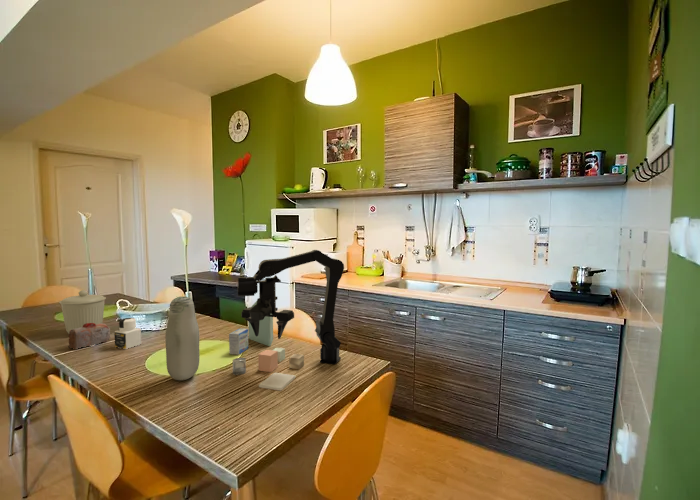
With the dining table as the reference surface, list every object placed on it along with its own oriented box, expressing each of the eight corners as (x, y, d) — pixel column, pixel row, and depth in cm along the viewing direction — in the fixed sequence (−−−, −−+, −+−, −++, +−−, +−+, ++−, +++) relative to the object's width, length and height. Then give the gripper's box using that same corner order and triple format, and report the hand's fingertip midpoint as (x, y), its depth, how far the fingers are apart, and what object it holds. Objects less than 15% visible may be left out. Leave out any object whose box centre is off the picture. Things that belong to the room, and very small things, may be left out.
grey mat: (295, 377, 116) (295, 375, 116) (281, 390, 106) (281, 388, 106) (274, 374, 118) (274, 372, 118) (258, 387, 109) (258, 384, 109)
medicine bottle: (114, 347, 146) (113, 319, 145) (130, 342, 152) (129, 316, 152) (125, 349, 143) (124, 321, 142) (141, 344, 149) (140, 317, 149)
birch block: (303, 365, 127) (303, 354, 127) (299, 369, 123) (299, 358, 123) (294, 364, 128) (294, 353, 128) (289, 368, 124) (289, 357, 124)
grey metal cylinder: (248, 370, 122) (248, 358, 121) (241, 375, 117) (240, 363, 117) (237, 369, 123) (237, 357, 123) (230, 374, 119) (230, 361, 118)
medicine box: (239, 355, 137) (238, 334, 136) (228, 354, 138) (228, 333, 137) (248, 348, 145) (248, 328, 144) (239, 347, 146) (238, 328, 145)
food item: (102, 339, 157) (101, 318, 156) (112, 341, 153) (111, 320, 153) (66, 348, 144) (65, 325, 144) (77, 351, 141) (76, 328, 140)
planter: (284, 342, 153) (283, 299, 152) (269, 346, 147) (268, 301, 146) (262, 334, 164) (262, 294, 163) (248, 338, 158) (247, 296, 157)
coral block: (277, 367, 125) (277, 351, 125) (270, 372, 120) (270, 355, 120) (265, 365, 127) (265, 349, 126) (258, 370, 122) (258, 354, 122)
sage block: (285, 358, 134) (285, 348, 133) (280, 362, 130) (280, 351, 130) (276, 357, 135) (276, 347, 135) (270, 361, 131) (270, 350, 131)
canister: (85, 326, 177) (83, 286, 176) (116, 328, 174) (114, 287, 173) (50, 337, 159) (48, 293, 158) (84, 339, 156) (82, 294, 155)
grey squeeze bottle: (168, 375, 118) (166, 295, 116) (200, 370, 122) (198, 293, 120) (165, 387, 109) (162, 300, 107) (200, 381, 113) (198, 298, 111)
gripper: (231, 297, 117) (232, 341, 118) (279, 300, 112) (279, 347, 112) (250, 292, 128) (250, 332, 129) (294, 294, 122) (295, 337, 123)
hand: (268, 337), depth 123 cm, fingers open, 9 cm apart
